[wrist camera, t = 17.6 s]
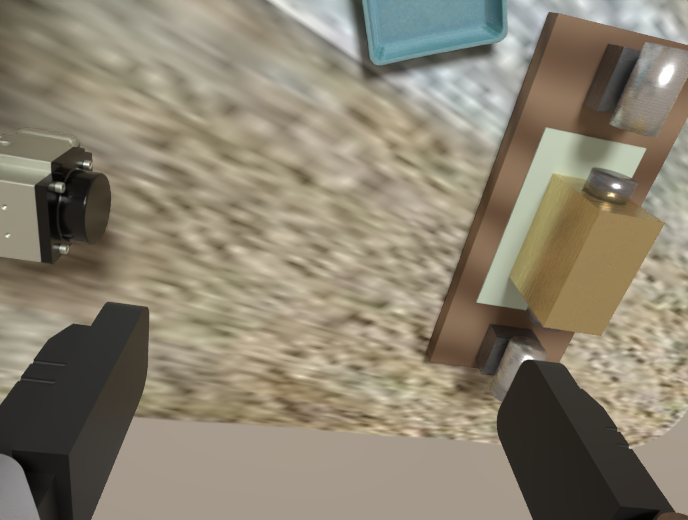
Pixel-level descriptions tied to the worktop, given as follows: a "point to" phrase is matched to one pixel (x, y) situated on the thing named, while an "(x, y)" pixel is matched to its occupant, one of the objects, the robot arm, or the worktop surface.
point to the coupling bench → (560, 158)
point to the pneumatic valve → (48, 196)
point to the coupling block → (583, 251)
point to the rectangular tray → (430, 27)
